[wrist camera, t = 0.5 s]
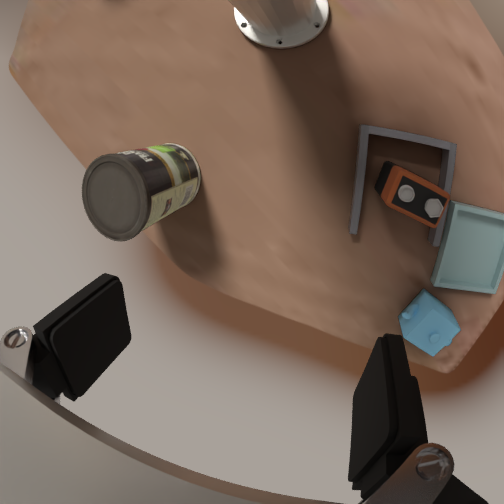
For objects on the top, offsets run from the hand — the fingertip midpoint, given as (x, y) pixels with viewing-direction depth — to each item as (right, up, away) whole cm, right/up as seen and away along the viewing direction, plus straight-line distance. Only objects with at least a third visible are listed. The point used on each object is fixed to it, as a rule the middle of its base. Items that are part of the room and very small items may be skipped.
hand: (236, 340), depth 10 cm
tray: (+33, +4, +25) cm, 42 cm away
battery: (+20, +12, +25) cm, 34 cm away
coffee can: (-12, +14, +33) cm, 38 cm away
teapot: (+27, -6, +31) cm, 42 cm away
